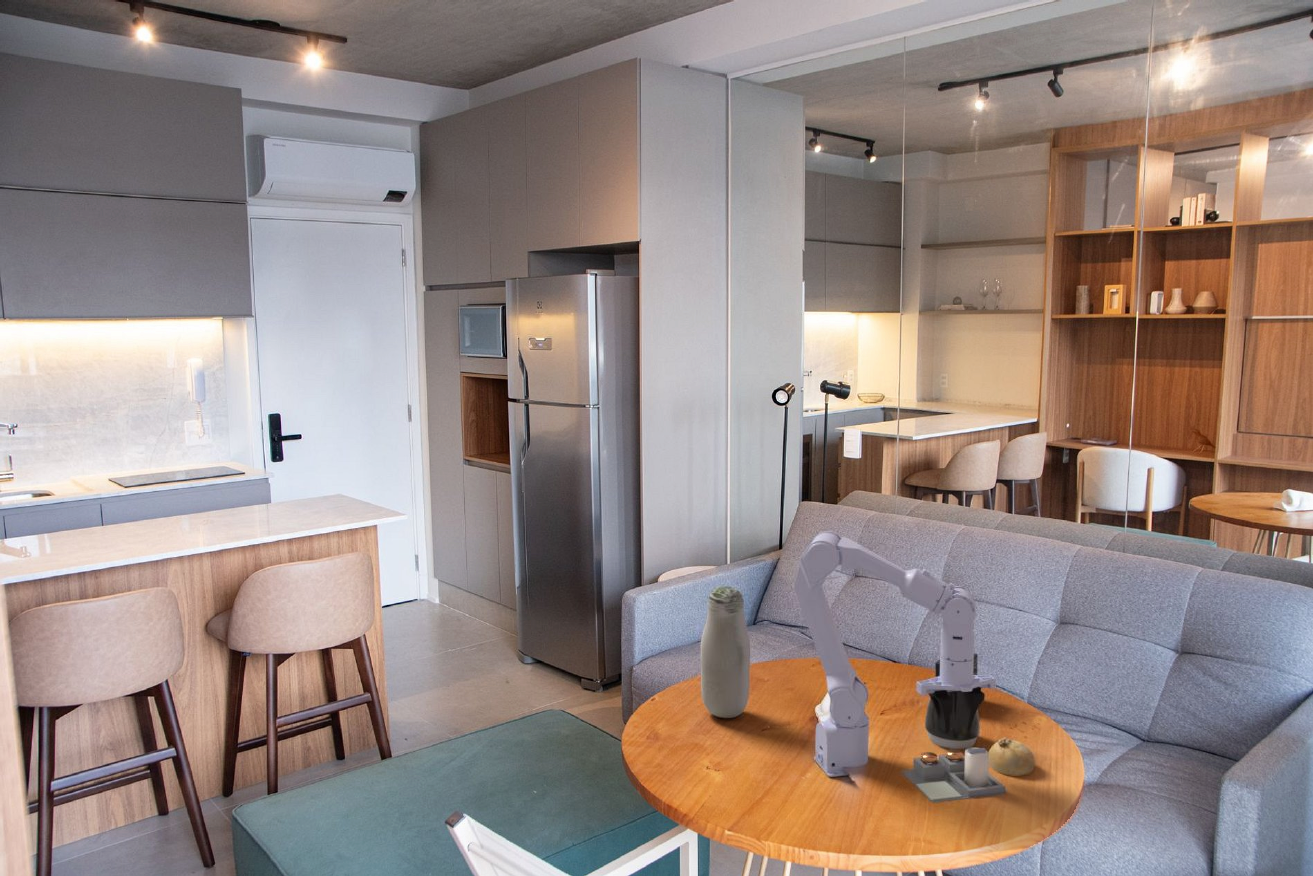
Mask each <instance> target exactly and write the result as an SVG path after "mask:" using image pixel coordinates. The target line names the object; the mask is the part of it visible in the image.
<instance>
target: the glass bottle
mask: <svg viewBox="0 0 1313 876" xmlns="http://www.w3.org/2000/svg"><path fill="white" fill-rule="evenodd" d="M707 602H708V603H707V614H706V620H705V625H704V628H703V630H702V634H701V639H700V693H701V698H702V703H703V705H704V707H705V708H706V710H707V711H708V712H709V713H710V714H711V715H713V716H715V717H718V718H721V719H722V718H723V719H732V718H736V717H738V716H739V715H741V714H742V713H743V712H744V711H745V709H746V707H747V705H748V701H749V697H750V666H751V665H750V664H751V641H750V635H749V631H748V627H747V623H746V620H745V609H744V607H745V602H744V597H743V595H742V593H741V592H740V591H739V589H736V588H735V587H731V586H726V585H725V586H718V587H715V588H713V589H712V590H711V591H710V593H709V596H708V600H707Z"/></svg>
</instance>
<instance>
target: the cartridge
mask: <svg viewBox="0 0 1313 876" xmlns="http://www.w3.org/2000/svg"><path fill="white" fill-rule="evenodd" d="M964 758H965V772H964V783H965V784H966V785H967V786H968V787H969V788H979V787H987V786H988V776H989V774H990V773H989V771H990V770H989V768H990V765H989V750H988V751H987V749H986V748H985V747H981V748H980V747H970V748H966V749H964Z"/></svg>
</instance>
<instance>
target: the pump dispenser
mask: <svg viewBox="0 0 1313 876" xmlns="http://www.w3.org/2000/svg"><path fill="white" fill-rule="evenodd" d="M947 694H949V697H950V698H951V699H953V700H954V701H953V704H952V707H951V712H950V729H949V732H947V733H945V732H944V731H943V730H941V729H940V725H939V720H938V716H937V713H936V710H935V707H934V704H933V702H932V700H931V698H930V697H929V700H928V703H927V707H926V714H925V719H924V720H925V721H924V726H925V727H924V728H925V730H926V731H927V736H928V738H929V740H930V741H931V743H933V744H934V745H936V746H938V747H941V748H944V749H948V750H950V749H955V750H966V749H967V748H973V746H974V745H975V744H976V741H977V739H978V736H979V735H980V730H981V729H980V728H981V726H980V725H981V724H980V716H979V708H978V709H977V711H976V714H975V716H974V719H973V722H972V725H971V729H970V730H966V729H965V728H963V727H962V726H961V702H960V694H959V691H950V692H947Z"/></svg>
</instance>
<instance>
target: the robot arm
mask: <svg viewBox="0 0 1313 876" xmlns="http://www.w3.org/2000/svg"><path fill="white" fill-rule="evenodd" d="M838 566H841V567H840V572H846V571H851V570H856V569H858V570H861V571H862V572H865V573H867V574H869V575H872V576H874V577H875V578H878V579H880V580H883V581H884V582H887V583H889V584H891V585H894V586H896V587H897V588H899V590H900V593H901V596H902V597H903V598H905V599H907V600H909V601H911V602H912V603H915V604H917V605H918V606H921V607H922V608H925V609H926V610H929V611H930V612H932V613H934V614H940V616H941V619H942V628H941V629H940V648H939V649H940V654H939V657H940V658H939V659H940V676H938V677H932V678H929V679H924V680H919V681H916V690H915V691H916V693H918V694H919V695H920V696H927V694H928V697H929V699H930V698H931V700H932V702H933V704H934V707H935V710H936V713H937V716H938V720H939V725H940V729H941V730H943V731H944V732H945V733H947V732H949V729H950V712H951V707H952V704H953V701H954V700H953V699H951V698H950V697H949V694H947V692H950V691H959V694H960V702H961V726H962V727H963V728H965V729H966V730H970V729H971V725H972V722H973V719H974V716H975V714H976V711H977V709H978V710H979V708H980V706H981V704H982V703H983V701H984V700H985V697H986V694H985V692H983V691H982V689H989V690H995V689H996V684H997V683H996V682H997V680H996V679H997V678H995V677H994V676H992V675H990V674H987V675H984V674H982V675H981V674H977V675H973V663H974V653H975V631H974V628H975V619H976V617H977V612H976V605H975V603H976V601H975V598H974V597H973V595H972V594H971V592H969V590H967V589H966V588H965V587H964V586H961V585H956V584H955V583H952V582H949V584H948V582H947V583H946V582H945V581H943V580H941V579H939V578H937V577H936V576H934V575H931V571H930V570H928V569H927V568H923V569H922V570H921V569H919V568H913V569H910V570H906V569H904V568H902V567H901V566H898V565H897V564H896V563H893V562H891V561H889V560H888V559H886V558H885V557H883V556H881V555H879V554H877V553H875V552H873V551H871V550H870V549H868V548H866V547H865V546H863V545H861V544H859V543H858V542H856V541H854V540H852V539H850V538H848V537H846V536H840V535H839V534H837V533H836V532H834V531H830V530H825V531H824V530H823V531H821V532H819V533H817V534H816V535H815V536H814V537H813V539H812V540H811V541H810V543H809V544H808V546H807V547H806V549H805V550H804V552H803V553H802V555H801V556H800V558H799V563H798V568H797V571H796V575H795V580H794V585H793V589H794V592H795V596H796V597H797V600H798V603H799V606H800V608H801V611H802V615H803V616H804V619H805V622H806V625H807V628H808V630H809V634H810V635H811V638H812V641H813V644H814V647H815V649H816V652H817V655H818V658H819V660H820V662H821V666H822V668H823V669H822V670H824V674H825V677H826V688H827V693H828V696H829V700H830V703H829V713H830V714H829V717H828V719H825V720H824V721H820V722H818V723H817V722H816V726H815V735H814V737H815V741H814V742H815V747H814V748H815V750H814V751H815V754H814V757H813V759H814V761H815V762H816V763H817V765H818V766H819V767H820V768H821V769H822V771H824V773H825V774H826V775H827V776H828V778H829V777H830V778H833V777H836V778H837V777H843V776H844V777H845V776H850V773H848V771H847V770H846V769H845V768H857V767H862V766H864V765H866V764H868V762H869V741H870V740H869V735H870V734H869V732H870V730H869V729H870V727H869V726H870V725H869V724H870V722H869V721H870V719H869V716H868V715H867V713H866V710H865V709H866V706H867V705H866V704H867V702H868V700H869V689H868V687H867V685H866V684H865V683H864V682H863V681H862V680H861V679H860V678H859V676H858V674H857V671H856V669H855V668H854V667H853V666H852V665H851V662H850V659H849V657H848V654H847V651H846V649H845V647H844V646H845V645H844V643H843V640H842V637H841V634H840V633H839V630H838V627H837V624H836V622H835V619H834V616H833V614H832V611H831V608H830V605H829V603H828V599H827V597H826V595H825V592H824V589H823V585H824V583H825V581H826V579H827V577H829V576H830V575H831V574H832V573H833V572H834V571H836V570H837V568H838Z"/></svg>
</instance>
